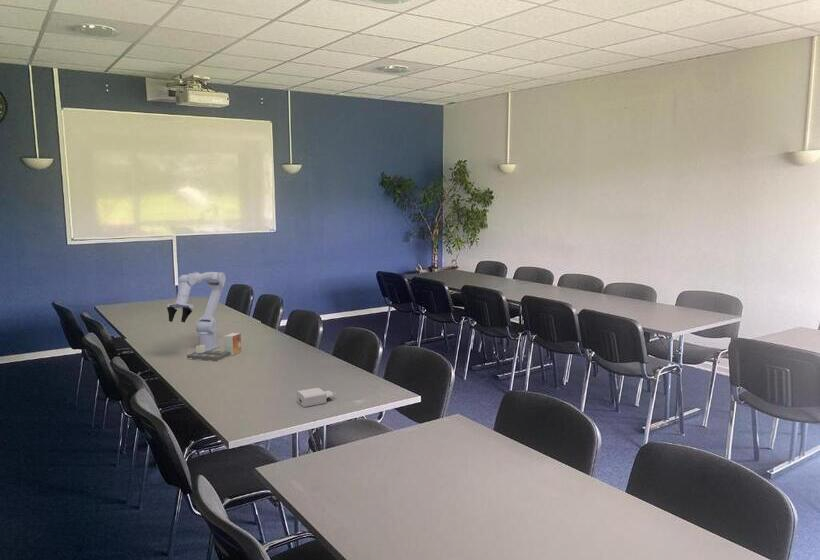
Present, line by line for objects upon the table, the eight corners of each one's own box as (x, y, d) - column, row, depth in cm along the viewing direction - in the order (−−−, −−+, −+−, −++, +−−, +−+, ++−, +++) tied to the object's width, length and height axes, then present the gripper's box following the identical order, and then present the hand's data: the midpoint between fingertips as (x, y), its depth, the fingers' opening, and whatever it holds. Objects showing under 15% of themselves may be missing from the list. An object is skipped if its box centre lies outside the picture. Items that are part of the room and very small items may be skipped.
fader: (200, 351, 320) (200, 344, 319) (205, 351, 319) (205, 344, 318) (195, 353, 316) (195, 346, 315) (200, 353, 315) (200, 346, 315)
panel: (201, 353, 325) (201, 349, 324) (230, 355, 319) (230, 351, 319) (187, 358, 313) (187, 354, 313) (216, 361, 308) (216, 357, 308)
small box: (233, 355, 319) (232, 336, 317) (224, 354, 321) (223, 335, 319) (241, 352, 326) (241, 333, 325) (233, 351, 328) (232, 332, 327)
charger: (339, 401, 245) (304, 408, 238) (331, 395, 253) (297, 401, 246) (339, 390, 244) (304, 396, 237) (330, 384, 252) (296, 390, 245)
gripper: (166, 293, 311) (159, 318, 307) (190, 294, 307) (183, 320, 303) (174, 298, 318) (168, 322, 313) (198, 298, 313) (192, 323, 309)
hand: (176, 321), depth 308 cm, fingers open, 7 cm apart
